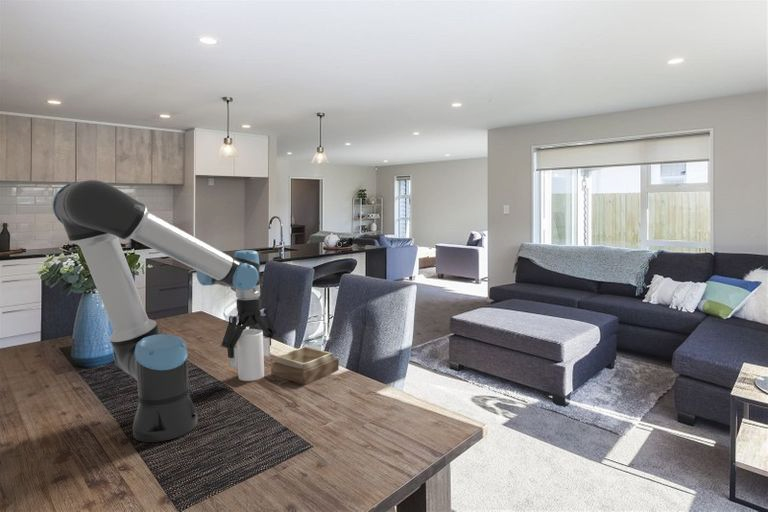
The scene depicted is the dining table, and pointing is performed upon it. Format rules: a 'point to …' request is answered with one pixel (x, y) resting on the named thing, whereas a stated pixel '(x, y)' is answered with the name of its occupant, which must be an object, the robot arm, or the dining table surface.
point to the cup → (250, 355)
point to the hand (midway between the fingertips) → (250, 361)
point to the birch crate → (304, 358)
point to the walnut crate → (301, 375)
